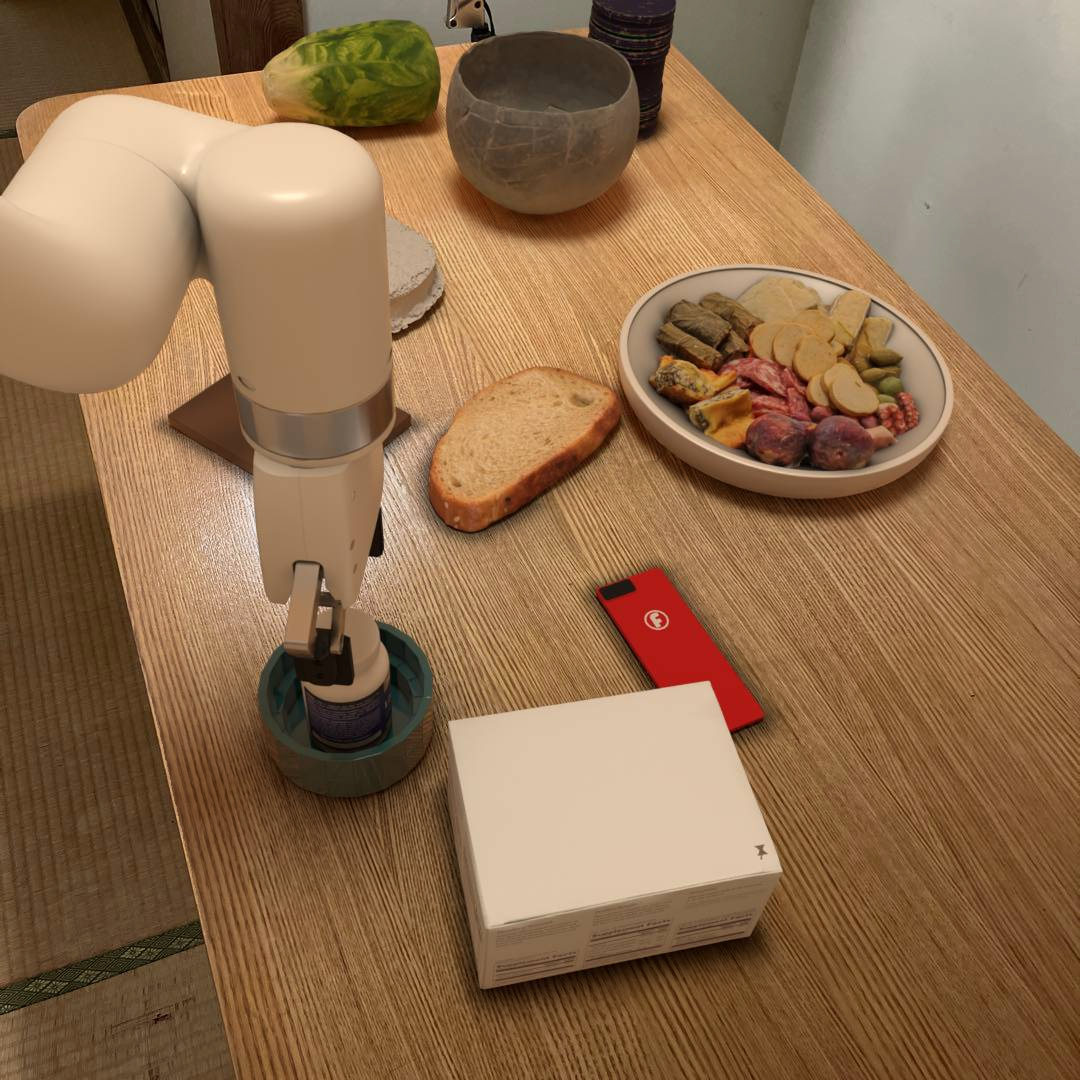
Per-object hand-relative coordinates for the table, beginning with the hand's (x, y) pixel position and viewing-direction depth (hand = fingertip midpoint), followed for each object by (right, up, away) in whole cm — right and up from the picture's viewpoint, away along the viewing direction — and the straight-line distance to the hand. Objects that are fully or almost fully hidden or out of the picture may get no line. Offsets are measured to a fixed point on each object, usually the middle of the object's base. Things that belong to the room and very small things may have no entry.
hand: (343, 612), depth 64 cm
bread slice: (+11, +12, +29) cm, 33 cm away
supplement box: (+15, -16, +4) cm, 23 cm away
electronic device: (+22, -4, +16) cm, 27 cm away
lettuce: (-11, +54, +65) cm, 85 cm away
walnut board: (-10, +14, +29) cm, 34 cm away
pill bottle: (-1, -8, +9) cm, 13 cm away
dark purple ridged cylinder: (+22, +56, +70) cm, 92 cm away
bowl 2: (+33, +17, +36) cm, 52 cm away
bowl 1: (+11, +43, +57) cm, 72 cm away
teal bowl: (-1, -8, +9) cm, 13 cm away
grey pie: (-8, +29, +43) cm, 53 cm away
